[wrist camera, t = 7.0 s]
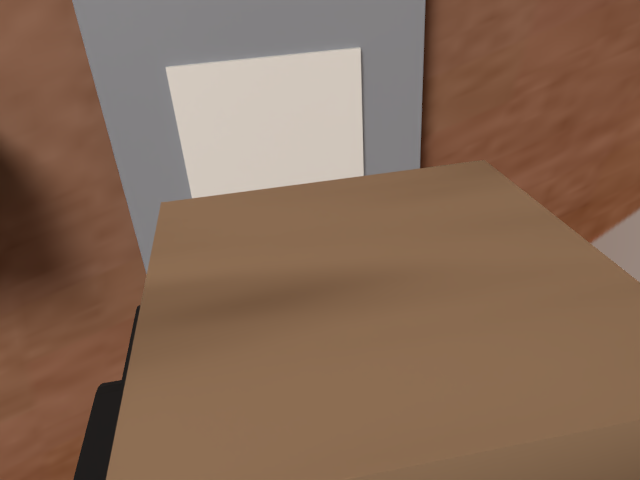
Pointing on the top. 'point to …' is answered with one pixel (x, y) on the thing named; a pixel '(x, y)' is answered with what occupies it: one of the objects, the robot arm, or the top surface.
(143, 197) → the pad
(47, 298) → the top surface
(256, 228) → the walnut block
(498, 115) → the top surface
